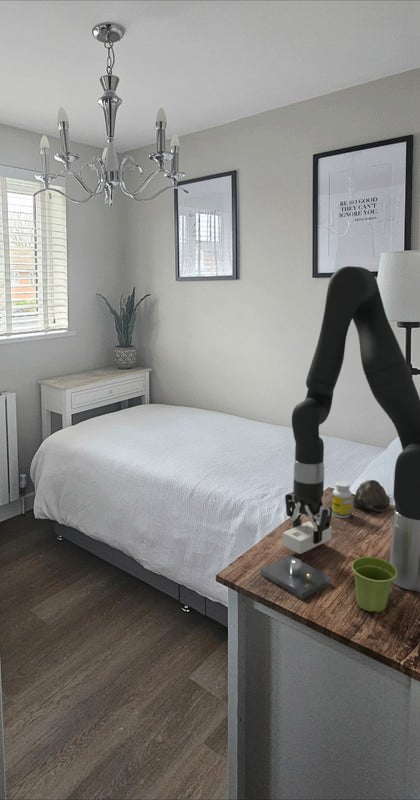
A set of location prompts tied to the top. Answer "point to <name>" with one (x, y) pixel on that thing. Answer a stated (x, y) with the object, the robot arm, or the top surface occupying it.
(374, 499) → the fossil
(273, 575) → the base plate
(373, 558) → the plant pot
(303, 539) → the white block with recesses
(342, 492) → the supplement bottle
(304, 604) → the top surface
